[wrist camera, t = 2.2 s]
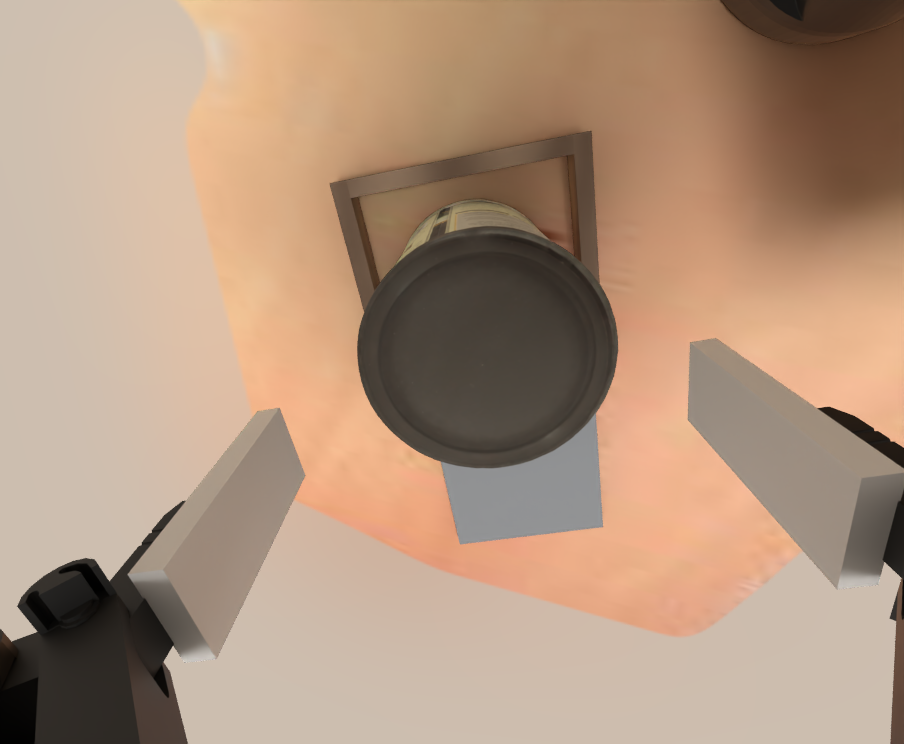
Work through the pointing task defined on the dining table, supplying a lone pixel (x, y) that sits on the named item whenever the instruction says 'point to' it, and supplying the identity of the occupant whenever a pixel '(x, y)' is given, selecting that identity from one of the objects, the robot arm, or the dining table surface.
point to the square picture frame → (570, 146)
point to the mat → (529, 493)
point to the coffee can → (486, 340)
